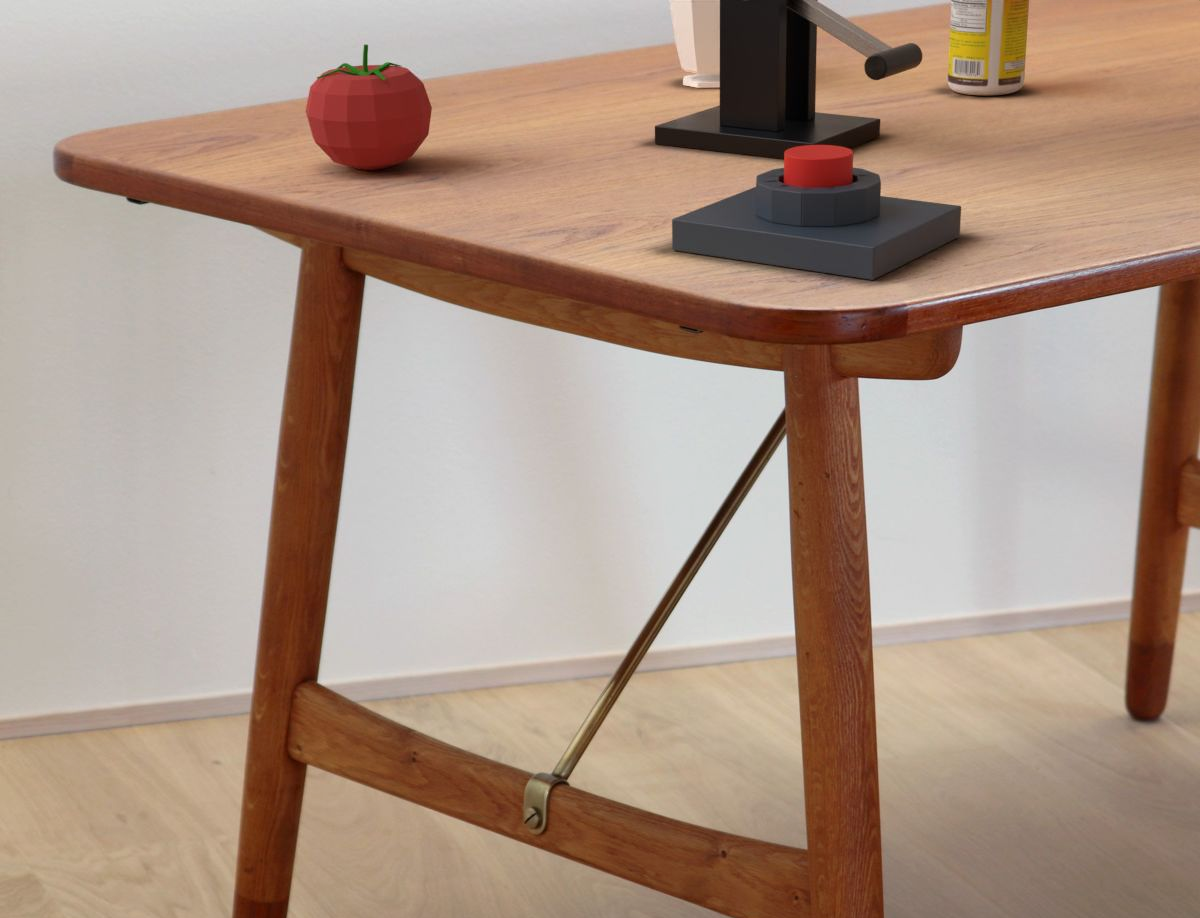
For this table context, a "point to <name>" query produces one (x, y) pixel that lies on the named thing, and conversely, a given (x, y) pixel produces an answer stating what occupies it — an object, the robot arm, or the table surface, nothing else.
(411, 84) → the tomato
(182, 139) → the table surface
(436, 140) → the table surface
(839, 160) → the button
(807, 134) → the bracket
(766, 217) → the block
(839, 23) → the lever
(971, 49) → the supplement bottle
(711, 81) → the cup
